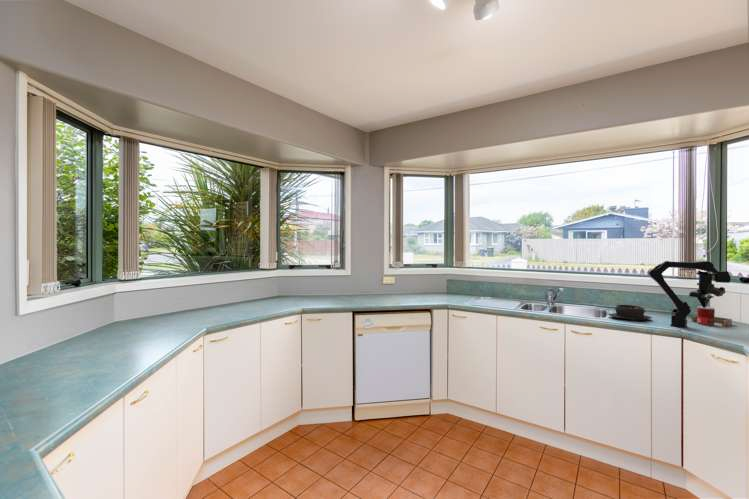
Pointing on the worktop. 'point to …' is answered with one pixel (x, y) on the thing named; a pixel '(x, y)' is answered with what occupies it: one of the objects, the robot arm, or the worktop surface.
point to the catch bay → (717, 320)
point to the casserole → (629, 312)
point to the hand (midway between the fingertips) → (704, 307)
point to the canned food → (705, 315)
